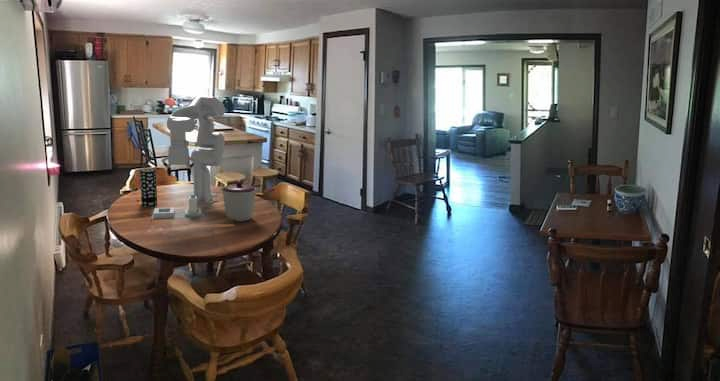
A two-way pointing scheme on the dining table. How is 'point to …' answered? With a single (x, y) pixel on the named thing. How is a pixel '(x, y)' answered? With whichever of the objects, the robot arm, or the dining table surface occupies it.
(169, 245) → the dining table surface
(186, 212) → the patch panel
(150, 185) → the white-spotted black cylinder
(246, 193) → the canister
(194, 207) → the plug
